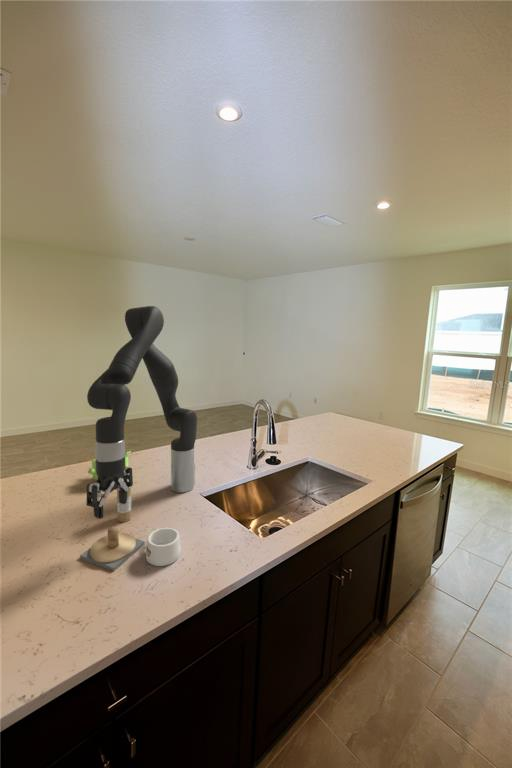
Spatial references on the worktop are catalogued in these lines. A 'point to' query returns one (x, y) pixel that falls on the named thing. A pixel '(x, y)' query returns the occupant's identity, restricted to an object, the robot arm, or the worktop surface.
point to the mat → (112, 565)
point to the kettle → (93, 470)
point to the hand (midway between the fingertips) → (111, 510)
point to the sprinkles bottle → (124, 507)
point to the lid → (112, 546)
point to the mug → (163, 547)
